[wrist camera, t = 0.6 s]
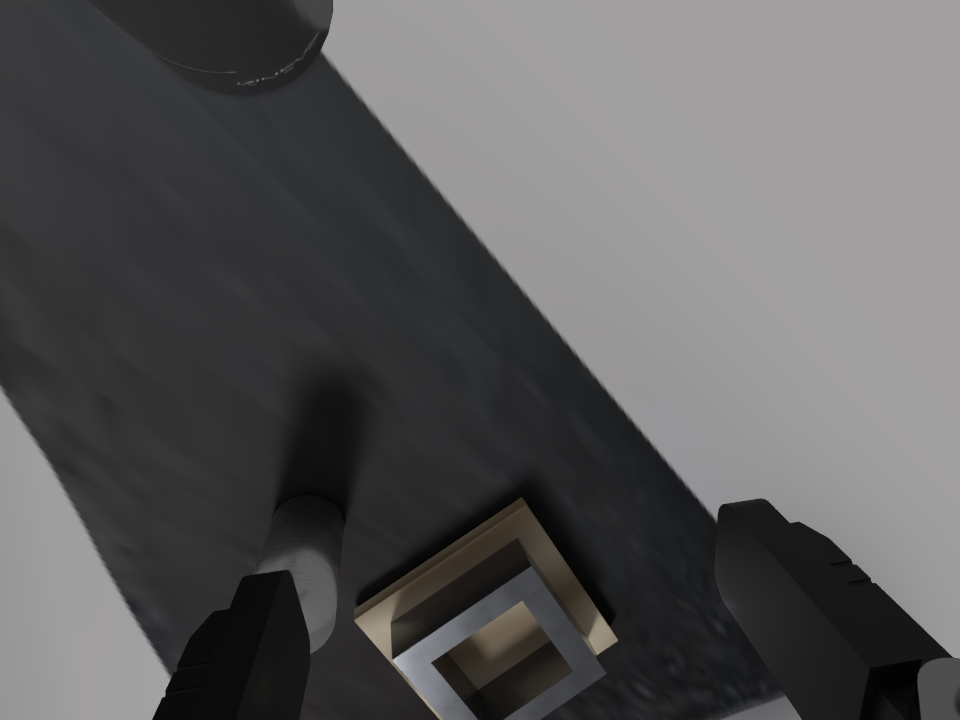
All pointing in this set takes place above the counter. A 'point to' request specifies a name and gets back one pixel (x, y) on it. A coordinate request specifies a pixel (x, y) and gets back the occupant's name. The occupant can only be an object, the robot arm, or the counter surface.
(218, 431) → the counter surface
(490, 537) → the board
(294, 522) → the cylinder
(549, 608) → the sleeve
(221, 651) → the robot arm
